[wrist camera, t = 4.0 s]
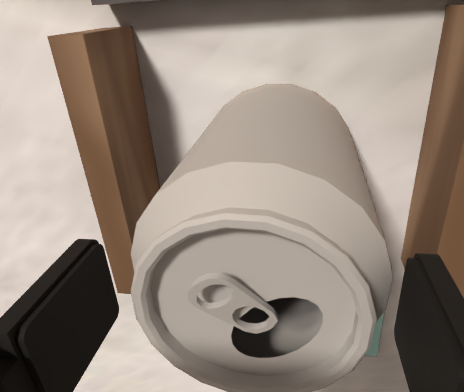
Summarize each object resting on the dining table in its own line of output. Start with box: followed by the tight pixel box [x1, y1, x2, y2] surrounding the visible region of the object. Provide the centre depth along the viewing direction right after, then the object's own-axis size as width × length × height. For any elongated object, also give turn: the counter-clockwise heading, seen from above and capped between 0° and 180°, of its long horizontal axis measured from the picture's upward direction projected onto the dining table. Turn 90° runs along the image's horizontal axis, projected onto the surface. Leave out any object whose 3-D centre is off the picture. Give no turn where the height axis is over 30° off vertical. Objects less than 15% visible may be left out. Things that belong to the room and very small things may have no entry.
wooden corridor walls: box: [48, 4, 464, 298], centre depth 18 cm, size 17×13×4 cm
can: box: [131, 84, 393, 392], centre depth 14 cm, size 8×8×12 cm
